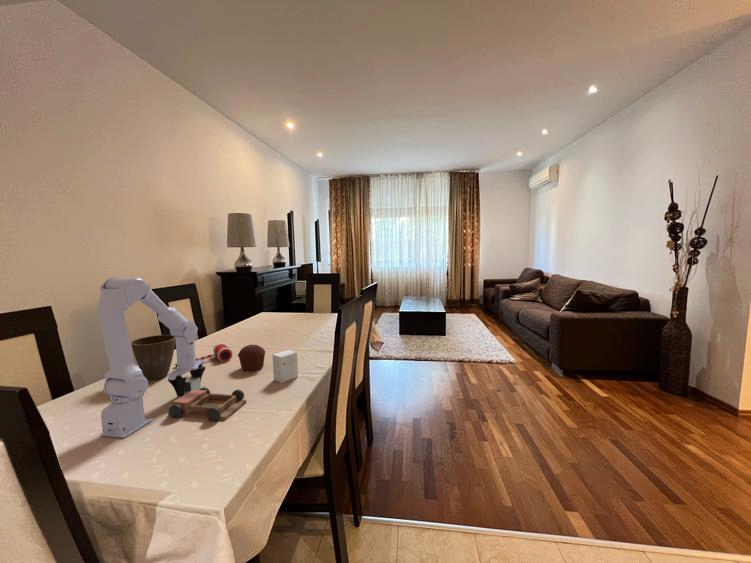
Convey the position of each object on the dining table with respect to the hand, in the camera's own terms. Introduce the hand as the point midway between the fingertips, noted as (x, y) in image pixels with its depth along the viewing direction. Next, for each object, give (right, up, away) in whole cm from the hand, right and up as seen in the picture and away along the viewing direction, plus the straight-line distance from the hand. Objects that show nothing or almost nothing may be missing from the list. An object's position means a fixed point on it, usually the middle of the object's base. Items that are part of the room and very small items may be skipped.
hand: (188, 391), depth 114 cm
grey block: (0, -2, 0) cm, 2 cm away
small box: (+31, 0, +14) cm, 34 cm away
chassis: (+12, -2, -10) cm, 16 cm away
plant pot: (-23, 0, +17) cm, 29 cm away
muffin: (+13, +1, +26) cm, 29 cm away
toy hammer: (-11, +1, +36) cm, 38 cm away
